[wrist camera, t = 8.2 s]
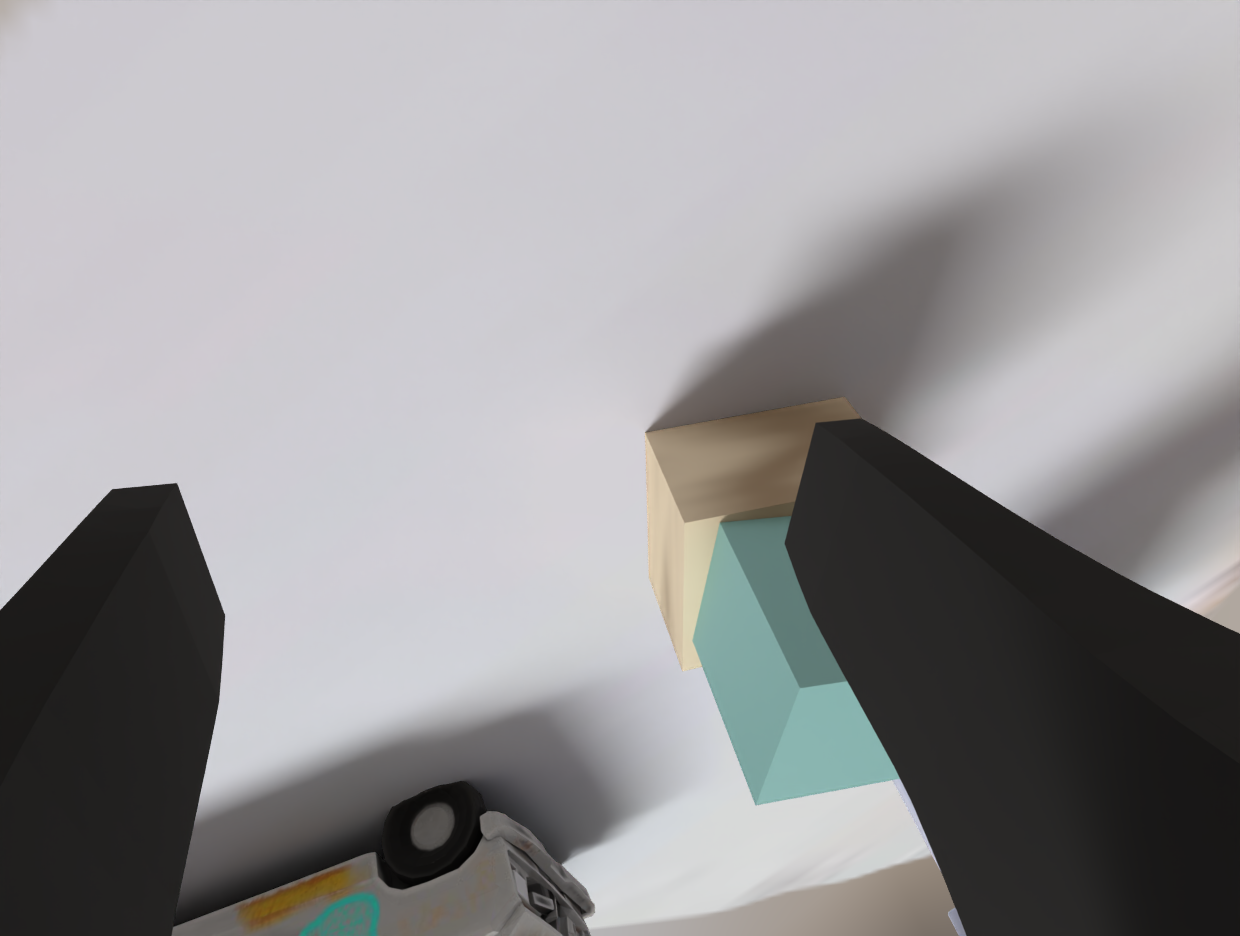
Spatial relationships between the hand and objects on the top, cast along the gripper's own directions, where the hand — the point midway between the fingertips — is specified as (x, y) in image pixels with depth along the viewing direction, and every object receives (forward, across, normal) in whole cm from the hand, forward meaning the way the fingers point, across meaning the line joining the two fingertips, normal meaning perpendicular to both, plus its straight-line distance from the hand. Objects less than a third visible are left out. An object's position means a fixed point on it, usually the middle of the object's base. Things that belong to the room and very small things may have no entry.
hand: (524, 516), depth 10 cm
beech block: (+11, -8, +10) cm, 17 cm away
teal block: (+7, -8, +9) cm, 14 cm away
